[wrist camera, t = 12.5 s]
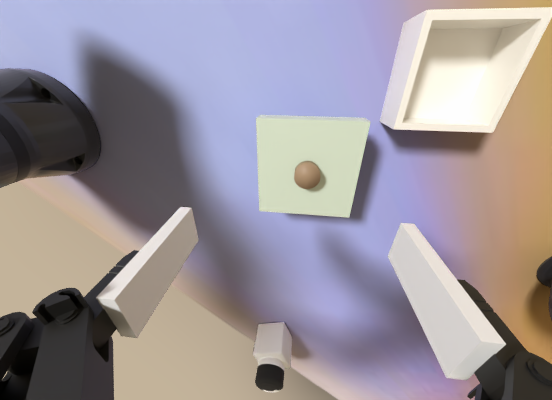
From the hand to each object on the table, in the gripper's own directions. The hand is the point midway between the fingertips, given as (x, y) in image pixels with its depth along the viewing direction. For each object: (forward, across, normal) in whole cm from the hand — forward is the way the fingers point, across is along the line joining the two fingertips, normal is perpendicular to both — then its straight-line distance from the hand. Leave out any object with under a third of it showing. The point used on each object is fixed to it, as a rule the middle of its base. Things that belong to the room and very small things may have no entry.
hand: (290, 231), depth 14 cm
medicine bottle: (+20, -2, -48) cm, 52 cm away
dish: (+19, +16, +9) cm, 26 cm away
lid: (+16, +2, -1) cm, 16 cm away
